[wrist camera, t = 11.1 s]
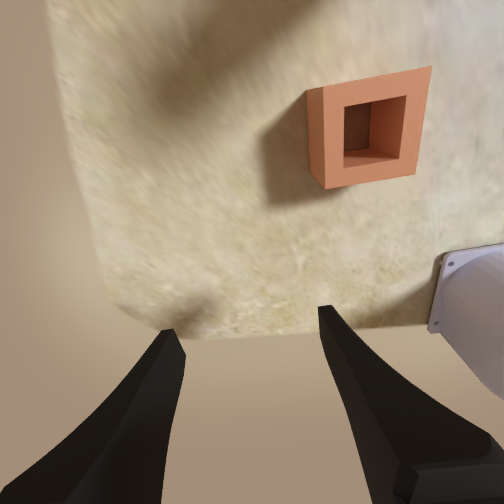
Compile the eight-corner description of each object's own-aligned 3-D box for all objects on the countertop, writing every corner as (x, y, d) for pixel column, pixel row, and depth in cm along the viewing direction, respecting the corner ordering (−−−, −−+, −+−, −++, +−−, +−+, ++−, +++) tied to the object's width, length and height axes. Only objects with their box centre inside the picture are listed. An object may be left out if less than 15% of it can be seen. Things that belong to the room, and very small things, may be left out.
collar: (382, 160, 18) (415, 174, 14) (310, 172, 18) (325, 189, 15) (389, 74, 15) (431, 65, 12) (306, 90, 16) (323, 86, 12)
